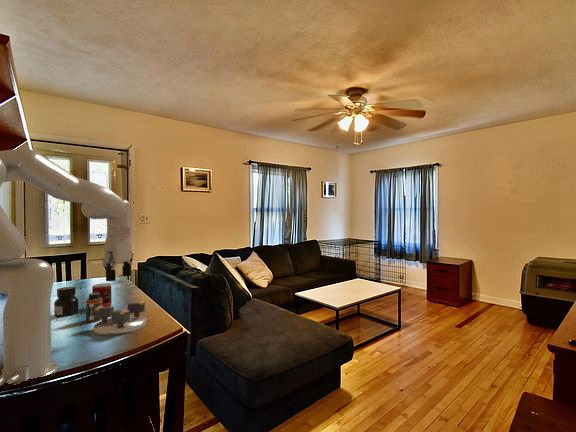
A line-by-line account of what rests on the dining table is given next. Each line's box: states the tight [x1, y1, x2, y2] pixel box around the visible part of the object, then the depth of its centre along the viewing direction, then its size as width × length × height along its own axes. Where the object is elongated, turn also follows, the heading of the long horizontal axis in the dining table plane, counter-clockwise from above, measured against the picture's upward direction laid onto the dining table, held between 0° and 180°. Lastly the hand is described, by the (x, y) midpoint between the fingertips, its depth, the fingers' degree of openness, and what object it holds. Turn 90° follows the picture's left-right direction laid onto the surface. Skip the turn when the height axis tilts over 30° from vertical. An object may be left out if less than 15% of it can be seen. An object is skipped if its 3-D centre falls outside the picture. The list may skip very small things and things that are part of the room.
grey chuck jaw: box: [111, 309, 131, 327], centre depth 109 cm, size 6×2×6 cm, turn 74°
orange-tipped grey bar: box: [95, 306, 115, 323], centre depth 115 cm, size 6×2×6 cm, turn 89°
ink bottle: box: [53, 286, 80, 318], centre depth 133 cm, size 10×9×12 cm
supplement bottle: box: [85, 292, 103, 323], centre depth 124 cm, size 6×6×11 cm
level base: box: [93, 314, 147, 337], centre depth 114 cm, size 18×18×4 cm
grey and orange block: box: [127, 300, 146, 317], centre depth 120 cm, size 6×2×6 cm, turn 103°
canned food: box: [91, 282, 113, 307], centre depth 144 cm, size 8×8×11 cm
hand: (119, 278), depth 109 cm, fingers open, 9 cm apart
